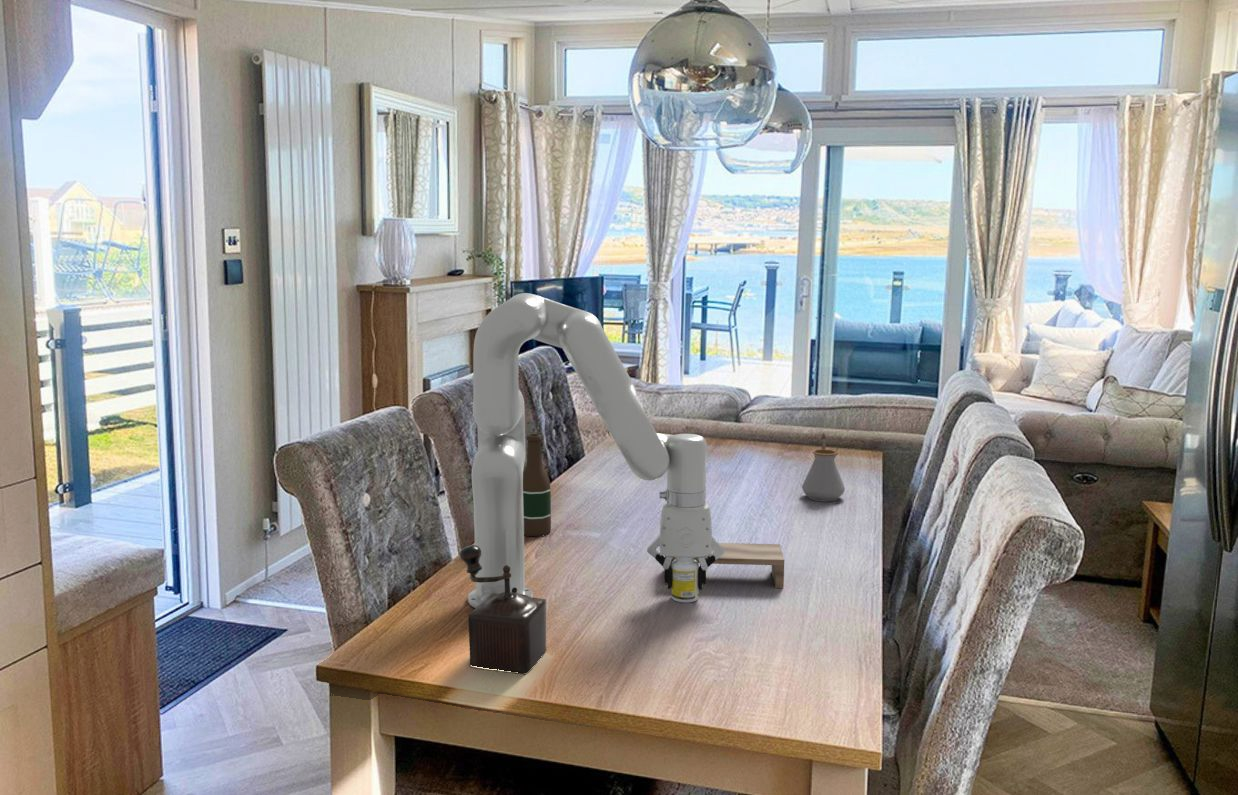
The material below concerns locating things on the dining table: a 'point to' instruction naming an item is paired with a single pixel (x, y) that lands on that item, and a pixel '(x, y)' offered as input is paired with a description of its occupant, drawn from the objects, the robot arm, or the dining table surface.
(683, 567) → the supplement bottle
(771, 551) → the wooden shelf
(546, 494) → the beer bottle
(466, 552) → the manual coffee grinder
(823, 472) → the coffee pot
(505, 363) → the robot arm
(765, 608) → the dining table surface
